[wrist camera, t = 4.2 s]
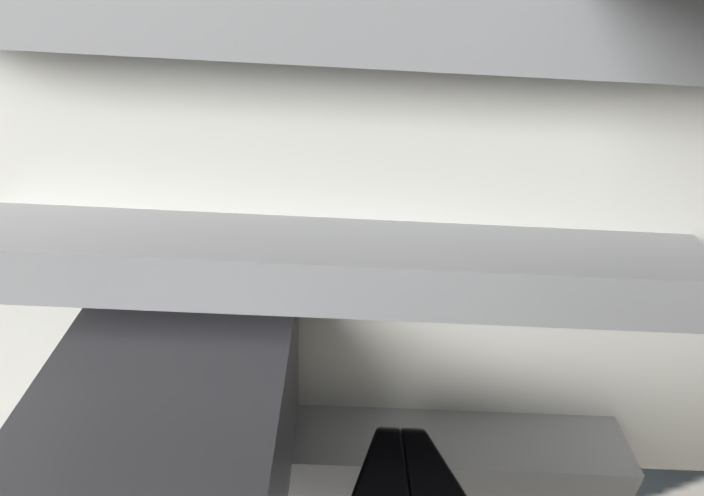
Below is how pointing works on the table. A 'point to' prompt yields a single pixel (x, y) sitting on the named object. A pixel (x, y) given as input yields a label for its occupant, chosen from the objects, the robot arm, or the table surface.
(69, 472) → the block
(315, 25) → the breaker board
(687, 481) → the table surface
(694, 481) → the table surface
